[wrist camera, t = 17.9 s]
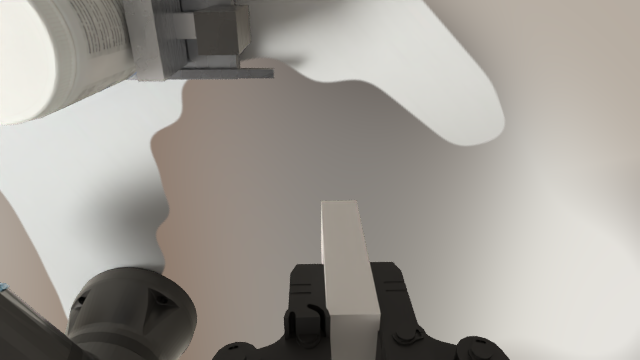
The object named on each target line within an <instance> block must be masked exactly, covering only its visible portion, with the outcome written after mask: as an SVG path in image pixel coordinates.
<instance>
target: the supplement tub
mask: <svg viewBox="0 0 640 360" xmlns="http://www.w3.org/2000/svg"><path fill="white" fill-rule="evenodd" d="M136 74H137V73H136V67H135V62H134V57H133V52H132V47H131V42H130V37H129V32H128V27H127V22H126V16H125V11H124V6H123V1H122V0H0V125H15V124H20V123H24V122H27V121H30V120H35V119H39V118H42V117H45V116H47V115H49V114H51V113H53V112H56V111H58V110H60V109H62V108H65V107H67V106H69V105H71V104H74V103H76V102H78V101H80V100H82V99H84V98H86V97H89V96H91V95H93V94H95V93H97V92H100V91H102V90H104V89H106V88H108V87H110V86H113V85H115V84H117V83H119V82H121V81H124V80H126V79H128V78H130V77H132V76H134V75H136Z"/></svg>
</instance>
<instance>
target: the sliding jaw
mask: <svg viewBox="0 0 640 360" xmlns="http://www.w3.org/2000/svg"><path fill="white" fill-rule="evenodd" d="M122 1H123V6H124V11H125V16H126V22H127V27H128V32H129V37H130V42H131V47H132V52H133V57H134V62H135V67H136V73H137V78H138V81H165V80H167V79H168V78H169V77H171V76H172V75H174V74H175V73H176V72H178V71H179V70H180V69H182V68H183V67H184V66H186V65H187V64H188V59H187V52H186V45H185V39H197V47H198V55H240V54H241V53H242V51H243V50H244V49H245V48H246V47H247V46H248V45H249V43H250V42H251V34H250V20H249V6H248V5H213V6H210V7H207V8H203V9H200V10H197V11H194V12H181V9H180V2H179V0H122Z"/></svg>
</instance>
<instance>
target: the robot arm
mask: <svg viewBox="0 0 640 360" xmlns="http://www.w3.org/2000/svg"><path fill="white" fill-rule="evenodd" d="M321 259H322V264H298V265H296V266H295V268H294V269H293V271H292V272H291V275H290V292H289V308H288V310H287V311H286V313H285V316H284V329H285V333H284V335H283V336H282V337H281V339H280V340H278V341H277V342H275V343H274V344H272V345H269V346H266V347H263V348H260V349H256V348H255V347H254V346H253V345H251V344H249V343H246V342H235V343H231V344H228V345H226V346H224V347H223V348H221V349H220V350H219V351H218V352H217V353H216V355H215V356H214V357H213V359H212V360H510V359H509V358H508V357H507V356H506V355H505V354H504V352H503V351H502V350H501V349H500V348H499V347H498V346H497V345H496V344H495V343H493V342H491V341H489V340H488V339H486V338H482V337H478V336H469V337H466V338H463V339H461V340H460V341H459V343H458V344H457V345H454V344H450V343H446V342H441V341H439V340H436V339H433V338H432V337H430V336H428V335H427V334H426V333H425V331H424V329H423V328H422V327H420V326H419V325H418V323H417V320H416V317H415V314H414V311H413V308H412V304H411V301H410V298H409V295H408V292H407V288H406V285H405V283H404V279H403V275H402V272H401V270H400V269H399V268H398V267H397V266H396V265H395V264H394V263H393V262H370V261H369V257H368V252H367V248H366V242H365V238H364V233H363V228H362V224H361V219H360V215H359V210H358V205H357V200H340V201H339V200H338V201H321ZM8 287H9V286H8V285H7V284H6V283H1V282H0V360H178V359H179V358H180V356H181V355H182V354H183V353H184V351H185V350H186V349H187V347H188V346H189V344H190V342H191V339H192V337H193V334H194V331H195V327H196V323H197V314H196V309H195V306H194V304H193V302H192V300H191V299H190V297H189V296H188V294H187V293H186V292H185V291H184V290H183V289H182V288H181V287H180V286H178V285H177V284H176V283H175V282H173V281H172V280H170V279H168V278H166V277H164V276H162V275H160V274H158V273H155V272H152V271H148V270H143V269H137V268H119V269H112V270H108V271H105V272H103V273H100V274H98V275H96V276H95V277H93V278H92V279H91V280H89V281H88V282H87V283H86V285H85V286H84V287H83V289H82V290H81V291H80V293H79V294H78V296H77V297H76V299H75V300H74V302H73V305H72V307H71V311H70V315H69V320H68V324H67V329H66V333H65V334H63V333H62V332H61V331H60V330H58V329H57V328H56V327H55V326H53V325H52V324H51V323H50V322H48V321H47V320H46V319H45V318H43V317H42V316H41V315H40V314H39V313H37V312H36V311H35V310H34V309H33V308H32V307H30V306H29V305H28V304H27V303H26V302H24V301H23V300H22V299H21V298H20V297H18V296H17V295H16V294H15V293H14V292H12V291H11V290H10V289H9V288H8Z"/></svg>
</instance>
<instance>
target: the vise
mask: <svg viewBox="0 0 640 360" xmlns="http://www.w3.org/2000/svg"><path fill="white" fill-rule="evenodd" d="M179 2H180V9H181V12H194V11H197V10H200V9H203V8H207V7H210V6H213V5H235V1H234V0H179ZM185 45H186V52H187V59H188V64H187V65H186V66H184V67H183V68H182V69H180V70H179V71H178V72H176V73H175V74H174V75H172V76H171V77H169V78H168V79H238V78H274V76H275V75H274V68H240V60H239V55H198V47H197V39H185ZM126 80H138V78H137V74H136V75H134V76H132V77H130V78H128V79H126Z"/></svg>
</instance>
